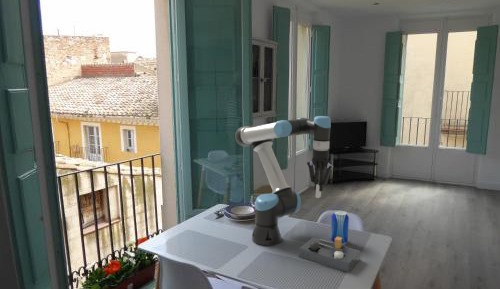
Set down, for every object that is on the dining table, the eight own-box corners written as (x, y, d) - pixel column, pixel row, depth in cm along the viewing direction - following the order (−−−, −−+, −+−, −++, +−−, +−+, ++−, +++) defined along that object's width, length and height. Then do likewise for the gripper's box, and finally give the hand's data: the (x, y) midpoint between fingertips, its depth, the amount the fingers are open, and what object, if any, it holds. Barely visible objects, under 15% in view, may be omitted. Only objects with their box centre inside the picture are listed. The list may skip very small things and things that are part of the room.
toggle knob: (334, 248, 164) (334, 239, 163) (337, 245, 167) (337, 236, 166) (339, 249, 163) (339, 240, 162) (341, 247, 165) (342, 237, 165)
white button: (332, 261, 157) (332, 253, 157) (336, 257, 160) (336, 250, 160) (341, 263, 155) (341, 256, 154) (344, 260, 158) (344, 252, 157)
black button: (308, 250, 164) (308, 243, 163) (312, 247, 167) (312, 240, 167) (316, 252, 162) (316, 245, 161) (320, 249, 165) (320, 242, 164)
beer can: (348, 246, 176) (349, 216, 174) (330, 245, 178) (332, 214, 175) (346, 239, 184) (348, 210, 182) (330, 238, 186) (331, 209, 183)
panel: (298, 256, 166) (299, 246, 165) (312, 246, 177) (312, 236, 176) (348, 272, 152) (349, 261, 151) (359, 260, 163) (360, 249, 162)
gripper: (304, 148, 167) (302, 196, 171) (330, 152, 159) (327, 202, 164) (312, 146, 173) (309, 192, 177) (337, 149, 165) (334, 198, 169)
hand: (318, 197), depth 170 cm, fingers closed
